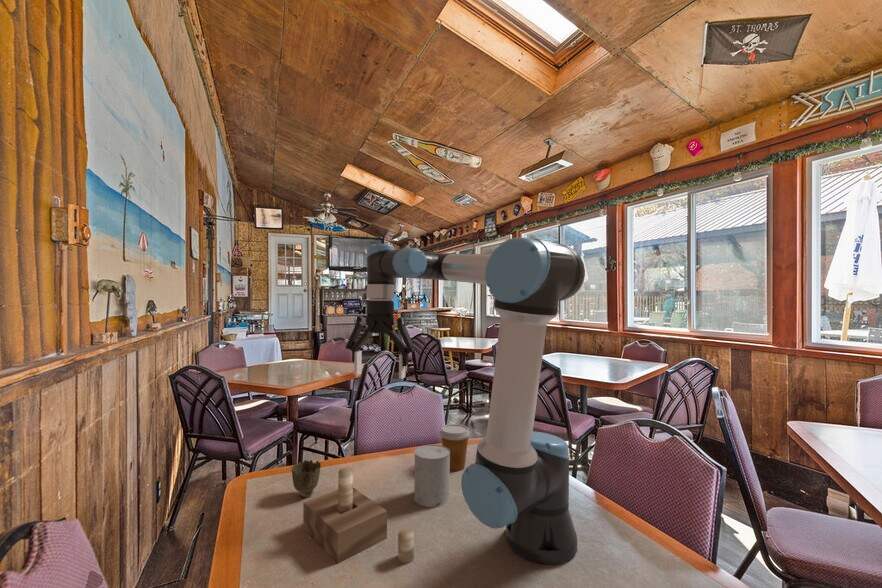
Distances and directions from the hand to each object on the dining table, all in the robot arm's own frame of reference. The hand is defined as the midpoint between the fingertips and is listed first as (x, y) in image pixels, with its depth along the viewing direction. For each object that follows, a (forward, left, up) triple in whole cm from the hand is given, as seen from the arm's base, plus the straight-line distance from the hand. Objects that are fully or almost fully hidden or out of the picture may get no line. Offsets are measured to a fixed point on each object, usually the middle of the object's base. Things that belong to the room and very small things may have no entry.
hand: (379, 376), depth 107 cm
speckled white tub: (-13, -8, -32) cm, 35 cm away
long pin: (-11, +17, -31) cm, 37 cm away
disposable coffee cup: (-4, -26, -32) cm, 41 cm away
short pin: (-27, +12, -31) cm, 43 cm away
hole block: (-11, +17, -31) cm, 37 cm away
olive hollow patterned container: (+11, +16, -32) cm, 37 cm away
